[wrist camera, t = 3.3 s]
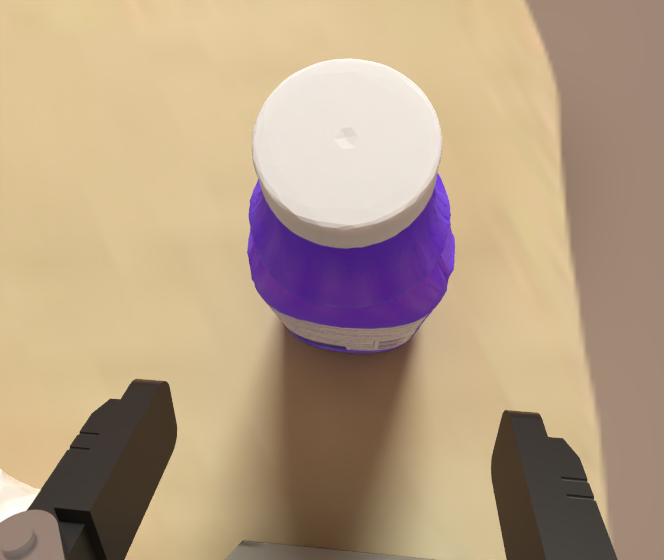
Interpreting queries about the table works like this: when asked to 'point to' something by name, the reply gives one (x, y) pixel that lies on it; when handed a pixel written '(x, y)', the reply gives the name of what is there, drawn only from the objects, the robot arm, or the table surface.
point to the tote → (302, 553)
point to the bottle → (349, 207)
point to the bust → (14, 496)
